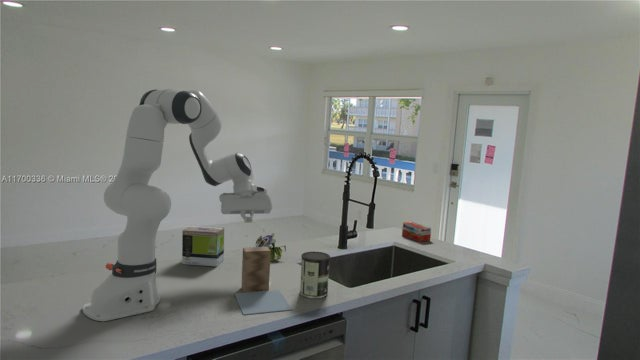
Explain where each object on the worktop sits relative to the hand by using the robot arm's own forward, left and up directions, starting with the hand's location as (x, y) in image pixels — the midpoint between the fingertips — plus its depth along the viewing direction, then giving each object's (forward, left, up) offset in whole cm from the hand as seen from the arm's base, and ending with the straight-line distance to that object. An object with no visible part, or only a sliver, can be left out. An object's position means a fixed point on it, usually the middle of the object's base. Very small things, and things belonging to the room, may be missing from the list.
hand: (248, 221), depth 170 cm
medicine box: (+110, -17, -22) cm, 114 cm away
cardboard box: (-8, -14, -21) cm, 27 cm away
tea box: (-4, +23, -22) cm, 32 cm away
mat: (-14, -24, -21) cm, 35 cm away
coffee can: (+5, -31, -22) cm, 38 cm away
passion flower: (+22, +10, -22) cm, 33 cm away
